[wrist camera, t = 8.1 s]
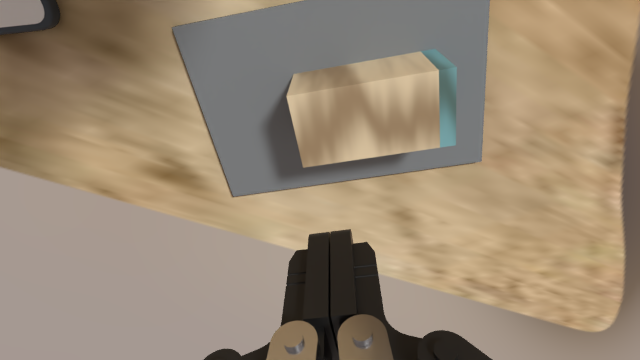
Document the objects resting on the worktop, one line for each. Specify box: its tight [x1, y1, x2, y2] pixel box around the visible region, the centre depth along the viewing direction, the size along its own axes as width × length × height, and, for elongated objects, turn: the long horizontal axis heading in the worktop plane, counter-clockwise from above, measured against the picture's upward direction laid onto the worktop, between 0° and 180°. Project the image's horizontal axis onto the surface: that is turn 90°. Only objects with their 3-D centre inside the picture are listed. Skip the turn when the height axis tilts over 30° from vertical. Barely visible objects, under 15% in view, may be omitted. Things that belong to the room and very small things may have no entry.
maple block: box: [286, 49, 457, 168], centre depth 25 cm, size 5×5×10 cm
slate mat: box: [172, 0, 490, 197], centre depth 27 cm, size 14×21×1 cm, turn 100°
